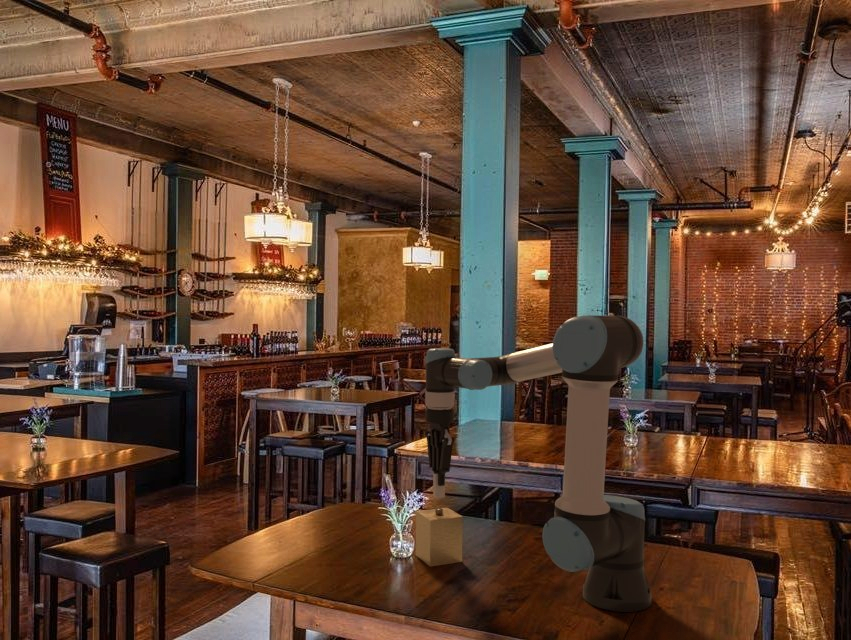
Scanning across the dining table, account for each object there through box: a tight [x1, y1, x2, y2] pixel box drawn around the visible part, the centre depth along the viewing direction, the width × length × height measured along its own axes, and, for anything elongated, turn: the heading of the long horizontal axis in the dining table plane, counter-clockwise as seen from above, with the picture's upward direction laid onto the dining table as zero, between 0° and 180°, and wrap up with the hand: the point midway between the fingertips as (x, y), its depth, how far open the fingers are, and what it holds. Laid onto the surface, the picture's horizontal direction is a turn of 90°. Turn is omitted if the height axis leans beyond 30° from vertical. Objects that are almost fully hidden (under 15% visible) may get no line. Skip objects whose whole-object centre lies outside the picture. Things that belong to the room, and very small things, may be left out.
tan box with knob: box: [415, 507, 464, 567], centre depth 194 cm, size 9×9×13 cm
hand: (438, 497), depth 194 cm, fingers closed
